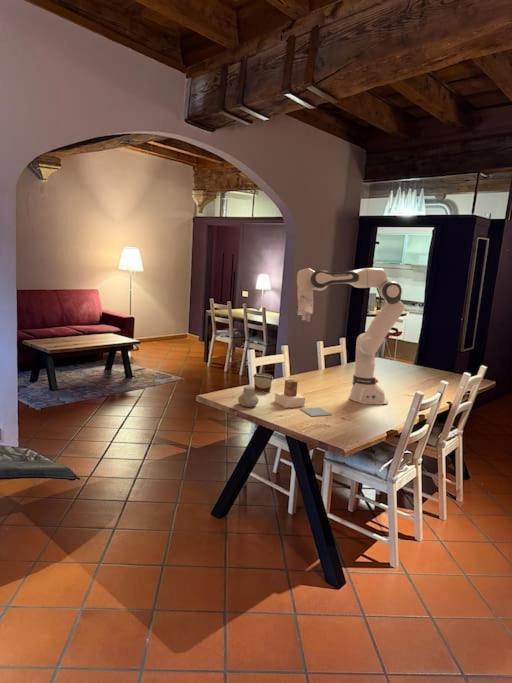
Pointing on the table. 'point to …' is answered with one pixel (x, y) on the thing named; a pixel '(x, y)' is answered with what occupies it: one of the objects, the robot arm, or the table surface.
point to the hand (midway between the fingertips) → (306, 320)
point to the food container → (262, 382)
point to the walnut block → (290, 388)
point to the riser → (289, 400)
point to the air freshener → (248, 397)
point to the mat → (315, 411)
